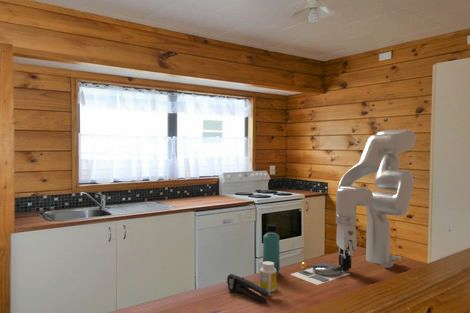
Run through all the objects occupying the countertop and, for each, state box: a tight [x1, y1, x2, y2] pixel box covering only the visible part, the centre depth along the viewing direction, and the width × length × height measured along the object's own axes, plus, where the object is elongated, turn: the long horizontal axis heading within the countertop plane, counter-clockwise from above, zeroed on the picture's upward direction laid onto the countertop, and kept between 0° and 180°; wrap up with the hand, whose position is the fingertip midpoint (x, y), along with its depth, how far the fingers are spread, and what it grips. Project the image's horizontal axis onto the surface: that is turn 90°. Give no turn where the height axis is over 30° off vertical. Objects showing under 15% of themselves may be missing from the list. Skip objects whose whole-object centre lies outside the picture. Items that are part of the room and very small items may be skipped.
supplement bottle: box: [259, 261, 277, 297], centre depth 118 cm, size 6×6×10 cm
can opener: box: [226, 273, 269, 303], centre depth 116 cm, size 18×7×6 cm, turn 43°
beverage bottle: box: [262, 223, 281, 276], centre depth 133 cm, size 6×7×20 cm
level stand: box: [289, 267, 351, 286], centre depth 133 cm, size 20×13×2 cm, turn 127°
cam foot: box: [300, 253, 350, 276], centre depth 136 cm, size 19×11×7 cm, turn 92°
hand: (344, 266), depth 136 cm, fingers closed on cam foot, 3 cm apart
